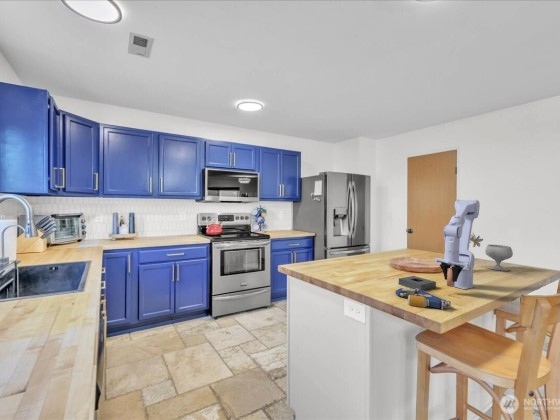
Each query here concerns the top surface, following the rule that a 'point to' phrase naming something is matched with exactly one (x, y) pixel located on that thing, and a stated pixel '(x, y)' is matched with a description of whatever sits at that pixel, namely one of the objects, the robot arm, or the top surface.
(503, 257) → the chalice
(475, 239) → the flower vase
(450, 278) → the pin
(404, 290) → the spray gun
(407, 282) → the collar block
